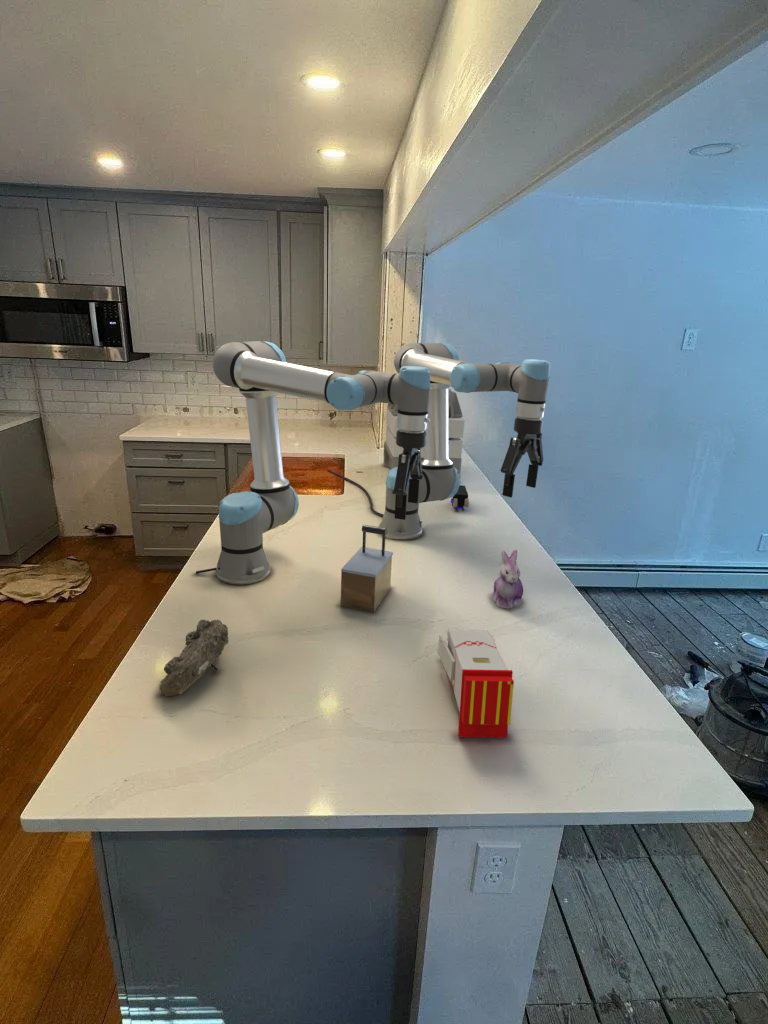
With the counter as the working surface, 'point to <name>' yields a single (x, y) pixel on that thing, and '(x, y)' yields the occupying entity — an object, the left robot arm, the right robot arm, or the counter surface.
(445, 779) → the counter surface
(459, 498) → the figurine character
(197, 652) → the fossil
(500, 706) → the toy
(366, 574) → the lid
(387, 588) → the chest
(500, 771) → the counter surface
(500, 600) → the figurine
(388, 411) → the white slatted crate
